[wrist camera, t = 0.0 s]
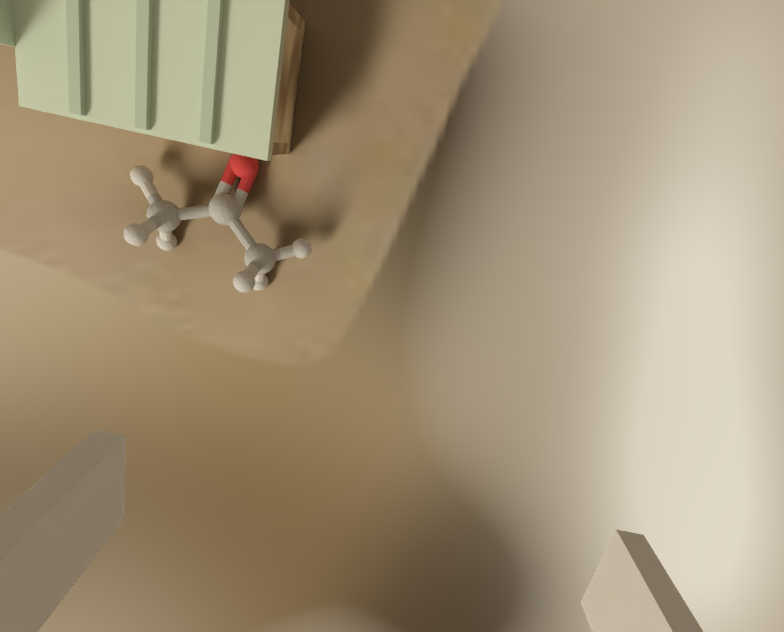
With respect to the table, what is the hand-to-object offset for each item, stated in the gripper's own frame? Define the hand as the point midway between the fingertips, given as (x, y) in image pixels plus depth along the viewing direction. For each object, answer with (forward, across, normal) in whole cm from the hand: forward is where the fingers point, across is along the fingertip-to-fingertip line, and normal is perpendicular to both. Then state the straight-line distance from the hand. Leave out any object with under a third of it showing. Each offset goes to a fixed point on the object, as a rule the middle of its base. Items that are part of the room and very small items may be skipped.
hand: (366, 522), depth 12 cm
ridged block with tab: (+22, -20, +12) cm, 32 cm away
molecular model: (+28, -14, +1) cm, 32 cm away
